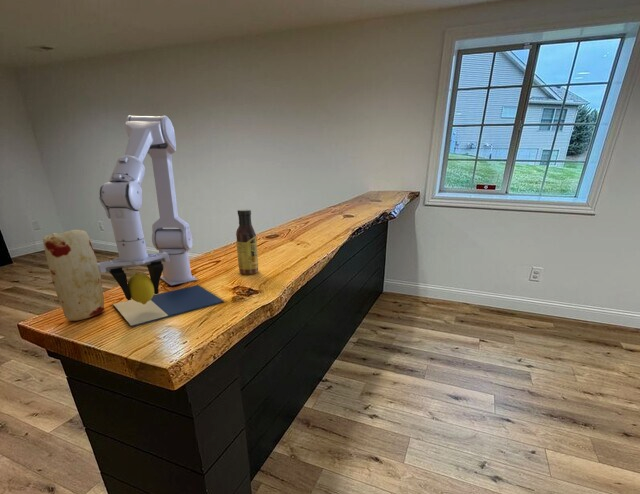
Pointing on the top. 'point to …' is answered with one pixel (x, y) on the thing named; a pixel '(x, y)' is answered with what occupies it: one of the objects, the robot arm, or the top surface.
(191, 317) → the top surface
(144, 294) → the lemon
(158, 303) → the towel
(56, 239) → the food model
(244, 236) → the sauce bottle
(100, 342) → the top surface
